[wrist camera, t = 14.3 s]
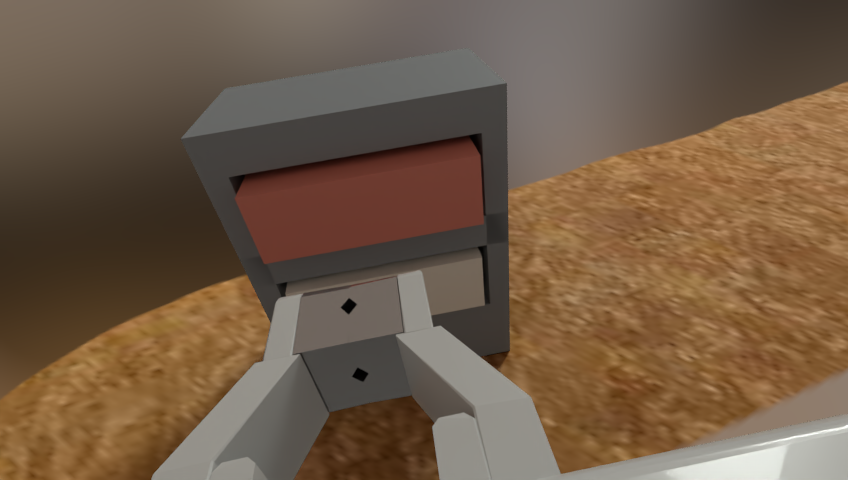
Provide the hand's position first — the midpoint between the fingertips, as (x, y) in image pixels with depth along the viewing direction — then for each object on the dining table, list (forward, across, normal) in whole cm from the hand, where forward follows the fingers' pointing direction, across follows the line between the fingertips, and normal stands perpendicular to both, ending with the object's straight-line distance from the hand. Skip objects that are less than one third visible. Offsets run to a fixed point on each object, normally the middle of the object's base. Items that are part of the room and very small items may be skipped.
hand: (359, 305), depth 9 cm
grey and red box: (+14, 0, +16) cm, 21 cm away
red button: (+11, 0, +5) cm, 12 cm away
